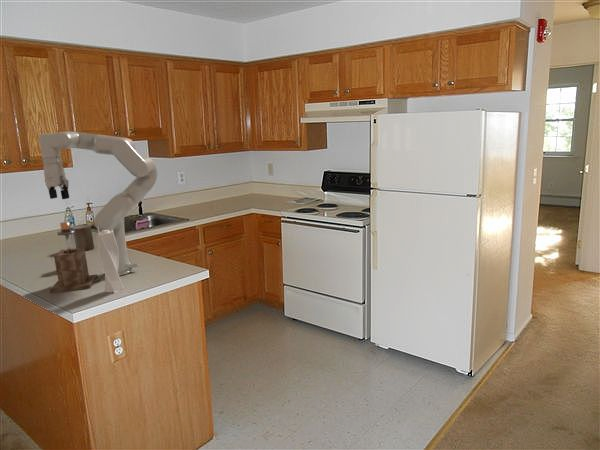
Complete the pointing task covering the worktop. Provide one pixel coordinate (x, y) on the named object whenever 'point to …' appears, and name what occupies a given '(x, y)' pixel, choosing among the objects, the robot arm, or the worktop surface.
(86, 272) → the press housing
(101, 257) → the skyscraper
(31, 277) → the worktop surface
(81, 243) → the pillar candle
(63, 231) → the plunger
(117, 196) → the robot arm
